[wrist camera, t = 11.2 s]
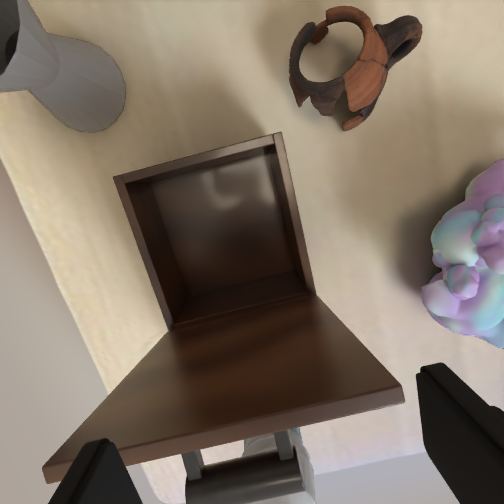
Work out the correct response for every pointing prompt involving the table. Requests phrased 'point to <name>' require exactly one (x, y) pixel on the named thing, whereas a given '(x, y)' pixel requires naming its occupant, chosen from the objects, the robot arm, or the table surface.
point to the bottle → (303, 500)
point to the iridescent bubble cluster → (471, 262)
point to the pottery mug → (363, 70)
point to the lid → (237, 398)
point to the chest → (219, 231)
